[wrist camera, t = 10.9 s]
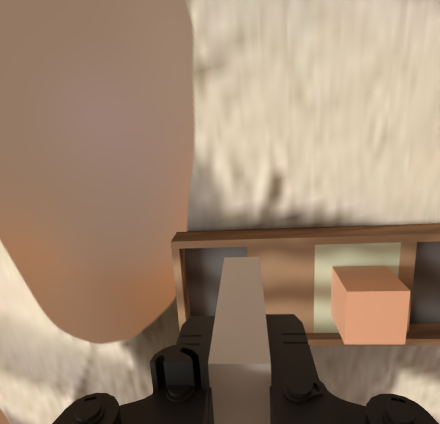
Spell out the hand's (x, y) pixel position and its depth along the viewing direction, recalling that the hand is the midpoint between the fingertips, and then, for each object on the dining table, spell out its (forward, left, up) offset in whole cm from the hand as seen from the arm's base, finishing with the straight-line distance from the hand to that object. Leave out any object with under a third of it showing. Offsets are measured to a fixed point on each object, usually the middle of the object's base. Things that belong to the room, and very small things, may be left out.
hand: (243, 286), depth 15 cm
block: (+16, +15, -30) cm, 37 cm away
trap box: (+16, +11, -32) cm, 38 cm away
